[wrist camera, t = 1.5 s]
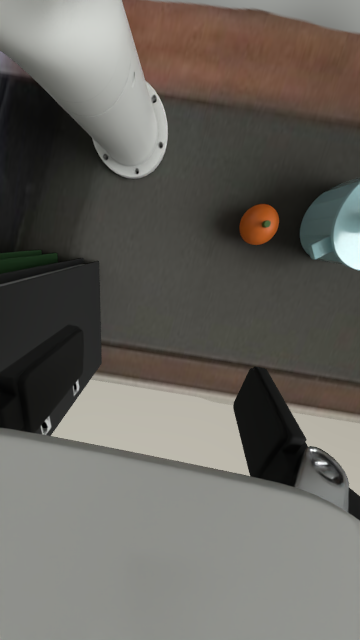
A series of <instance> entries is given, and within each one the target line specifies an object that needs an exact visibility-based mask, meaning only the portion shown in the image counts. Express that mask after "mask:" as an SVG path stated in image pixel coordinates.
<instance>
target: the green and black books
mask: <svg viewBox="0 0 360 640" xmlns="http://www.w3.org/2000/svg"><path fill="white" fill-rule="evenodd" d="M67 325H73V326H78V327H80V328H81V330H83V331H84V362H83V373H82V375H81V377H80V378H79V379H78V380H77V382H76V383H75V384H74V385H73V387H72V388H71V389H70V390H69V392H68V393H67V394H66V395H65V397H64V398H63V399H62V400H61V402H60V403H59V404H58V405H57V407H56V408H55V409H54V410H53V412H52V413H51V414H50V415H49V417H48V418H47V419H46V420H45V422H44V423H43V424H42V425H41V427H40V428H39V429H38V430H37V431H36V432H35V433H36V434H41V435H47V436H51V434H52V433H53V431H54V430H55V429H56V427H57V426H58V424H59V423H60V422H61V420H62V419H63V417H64V416H65V414H66V413H67V412H68V410H69V409H70V407H71V406H72V405H73V403H74V402H75V400H76V399H77V397H78V396H79V394H80V393H81V392H82V390H83V389H84V387H85V386H86V385H87V383H88V382H89V380H90V379H91V378H92V376H93V375H94V373H95V372H96V371H97V369H98V368H99V366H100V365H101V363H102V361H101V322H100V282H99V261H96V262H92V263H89V264H85V265H84V264H83V258H80V259H75V260H69V261H64V262H59V263H58V257H57V253H51V254H43V255H42V252H41V250H32V251H20V252H9V253H0V372H1V371H3V370H4V369H6V368H7V367H8V366H10V365H11V364H13V363H14V362H16V361H17V360H18V359H20V358H21V357H23V356H24V355H26V354H27V353H28V352H30V351H31V350H33V349H34V348H35V347H37V346H38V345H40V344H41V343H43V342H44V341H45V340H47V339H48V338H50V337H51V336H53V335H54V334H55V333H57V332H58V331H60V330H61V329H63V328H64V327H65V326H67Z"/></svg>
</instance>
